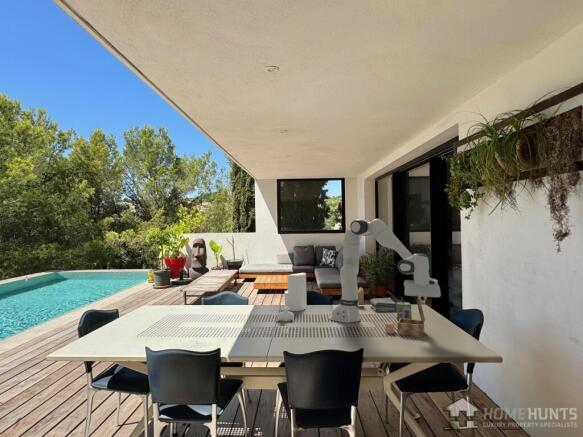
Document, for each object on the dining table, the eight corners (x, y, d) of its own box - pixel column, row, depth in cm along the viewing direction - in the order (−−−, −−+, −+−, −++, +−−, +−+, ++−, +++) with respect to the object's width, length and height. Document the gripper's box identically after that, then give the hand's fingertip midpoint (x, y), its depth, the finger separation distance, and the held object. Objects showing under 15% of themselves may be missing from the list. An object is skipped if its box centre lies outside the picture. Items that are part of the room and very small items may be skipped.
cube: (385, 332, 208) (385, 323, 208) (386, 330, 212) (386, 321, 212) (393, 333, 206) (392, 324, 206) (394, 331, 210) (394, 322, 210)
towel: (369, 307, 273) (369, 297, 274) (391, 306, 275) (391, 297, 275) (375, 312, 258) (375, 301, 258) (398, 311, 260) (398, 301, 260)
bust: (294, 320, 240) (293, 303, 240) (294, 323, 232) (294, 306, 233) (277, 320, 239) (276, 304, 240) (277, 323, 232) (276, 306, 232)
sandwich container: (342, 305, 281) (342, 287, 282) (361, 305, 282) (360, 286, 283) (345, 308, 273) (344, 289, 273) (363, 307, 274) (363, 288, 274)
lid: (416, 300, 200) (418, 300, 200) (418, 297, 210) (420, 296, 210) (422, 324, 199) (424, 324, 198) (424, 319, 209) (425, 319, 208)
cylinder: (311, 308, 272) (310, 273, 272) (296, 313, 259) (295, 276, 260) (295, 305, 283) (294, 271, 284) (280, 309, 271) (279, 274, 272)
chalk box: (411, 322, 230) (411, 300, 230) (397, 321, 232) (397, 299, 232) (410, 318, 239) (409, 297, 239) (396, 318, 241) (396, 297, 241)
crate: (397, 334, 205) (397, 322, 205) (400, 329, 215) (400, 318, 215) (422, 337, 199) (422, 325, 199) (424, 332, 208) (424, 320, 209)
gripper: (402, 280, 206) (403, 303, 206) (439, 282, 197) (440, 306, 197) (404, 279, 212) (405, 301, 211) (440, 280, 203) (441, 303, 202)
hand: (422, 303), depth 204 cm, fingers closed
